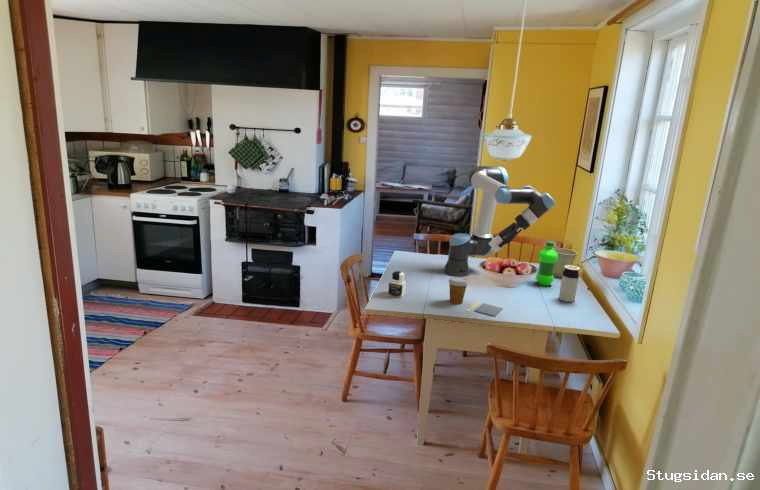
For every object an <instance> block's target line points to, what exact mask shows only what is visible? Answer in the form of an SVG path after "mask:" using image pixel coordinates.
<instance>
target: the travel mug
mask: <svg viewBox="0 0 760 490" xmlns="http://www.w3.org/2000/svg"><path fill="white" fill-rule="evenodd" d="M564 267H565V270H564V271H563V275H562V278H561V283H560V288H559V294H558V299H559V300H560V301H563V302H566V303H573V302H575V300H576V296H577V289H578V284H579V283H578V282H579V277H580V273H579V270H581V269H580V267H579V266H575V265H566V266H564Z"/></svg>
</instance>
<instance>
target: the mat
mask: <svg viewBox="0 0 760 490" xmlns="http://www.w3.org/2000/svg"><path fill="white" fill-rule="evenodd" d="M503 309H504V308H503V307H500V306H495V305H492V304H489V303H488V304H487V303H485V302H483V303H482V304H480V305H479V306H477V308H475V309H474V313H479V314H482V315H487V316H490V317H496V316H497V315H499V313H500V312H502V311H503Z"/></svg>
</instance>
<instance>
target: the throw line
mask: <svg viewBox="0 0 760 490" xmlns="http://www.w3.org/2000/svg"><path fill="white" fill-rule="evenodd" d="M480 303H481V301H477V302H476V303H474V304H473V305H472V306H471V307H469V308H468V309H467V310H466V311H465V312H467V313H470V312H471V311H472V310H474V309H475V308H476V307H478V305H479V304H480Z"/></svg>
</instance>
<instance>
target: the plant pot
mask: <svg viewBox="0 0 760 490" xmlns="http://www.w3.org/2000/svg"><path fill="white" fill-rule="evenodd" d="M553 250H554V251H555V252H556V253H557V254H558V260H557V261H556V262H555V264H554V271H553V276H554V277H555V278H560V277H562V275H563V271H564V270H565V267H564V266H566V265H572V266H574V263H575V260H576V257H577V254H578V253H577V252H576V251H575V250H573V249H569V248H562V247H553Z"/></svg>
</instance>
